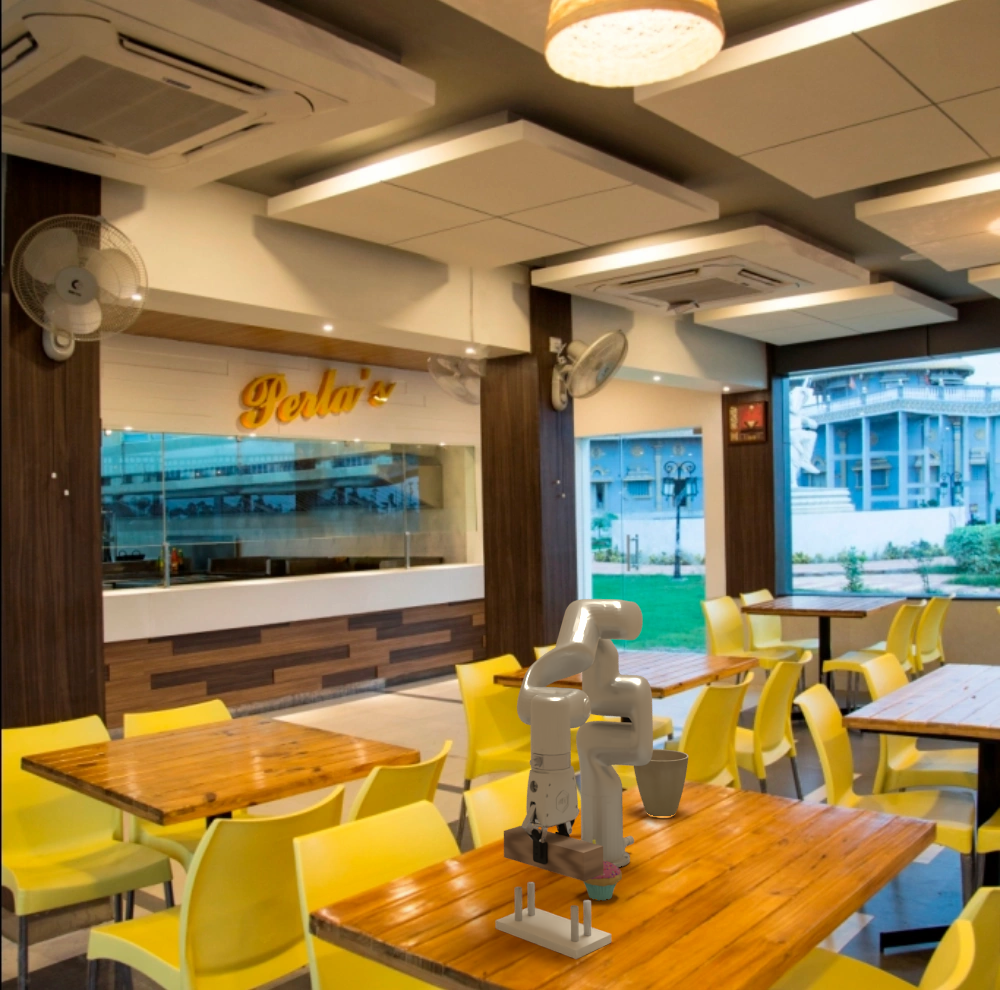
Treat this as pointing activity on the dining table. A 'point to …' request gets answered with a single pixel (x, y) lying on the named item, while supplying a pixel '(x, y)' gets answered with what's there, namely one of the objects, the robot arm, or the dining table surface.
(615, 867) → the cupcake
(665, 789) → the plant pot
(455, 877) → the dining table surface
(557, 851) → the wooden block
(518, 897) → the peg stand
